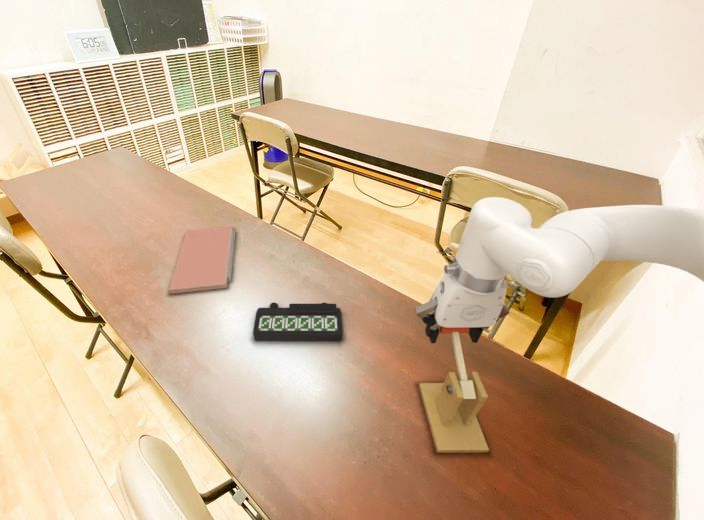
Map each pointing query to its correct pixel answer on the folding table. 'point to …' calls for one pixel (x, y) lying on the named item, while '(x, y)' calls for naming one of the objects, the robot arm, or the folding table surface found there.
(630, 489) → the folding table surface
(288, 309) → the digital display
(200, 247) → the notebook
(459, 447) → the bracket
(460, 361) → the lever
